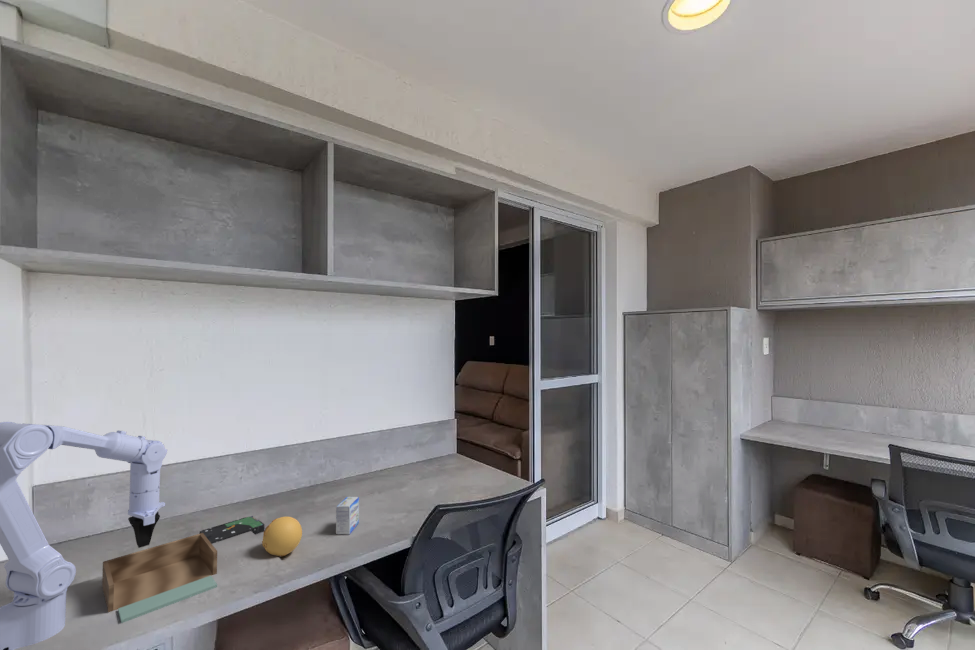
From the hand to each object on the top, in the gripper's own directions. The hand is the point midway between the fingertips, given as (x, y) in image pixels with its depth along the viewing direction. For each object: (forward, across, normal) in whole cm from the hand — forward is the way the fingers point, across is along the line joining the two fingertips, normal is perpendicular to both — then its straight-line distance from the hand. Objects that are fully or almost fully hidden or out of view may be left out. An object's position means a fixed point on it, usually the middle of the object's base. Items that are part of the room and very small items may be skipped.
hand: (143, 545), depth 101 cm
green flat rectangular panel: (+8, -12, -3) cm, 14 cm away
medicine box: (+10, -9, -49) cm, 51 cm away
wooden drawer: (+9, -4, -3) cm, 11 cm away
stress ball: (+10, -10, -29) cm, 32 cm away
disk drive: (+10, +13, -23) cm, 28 cm away
